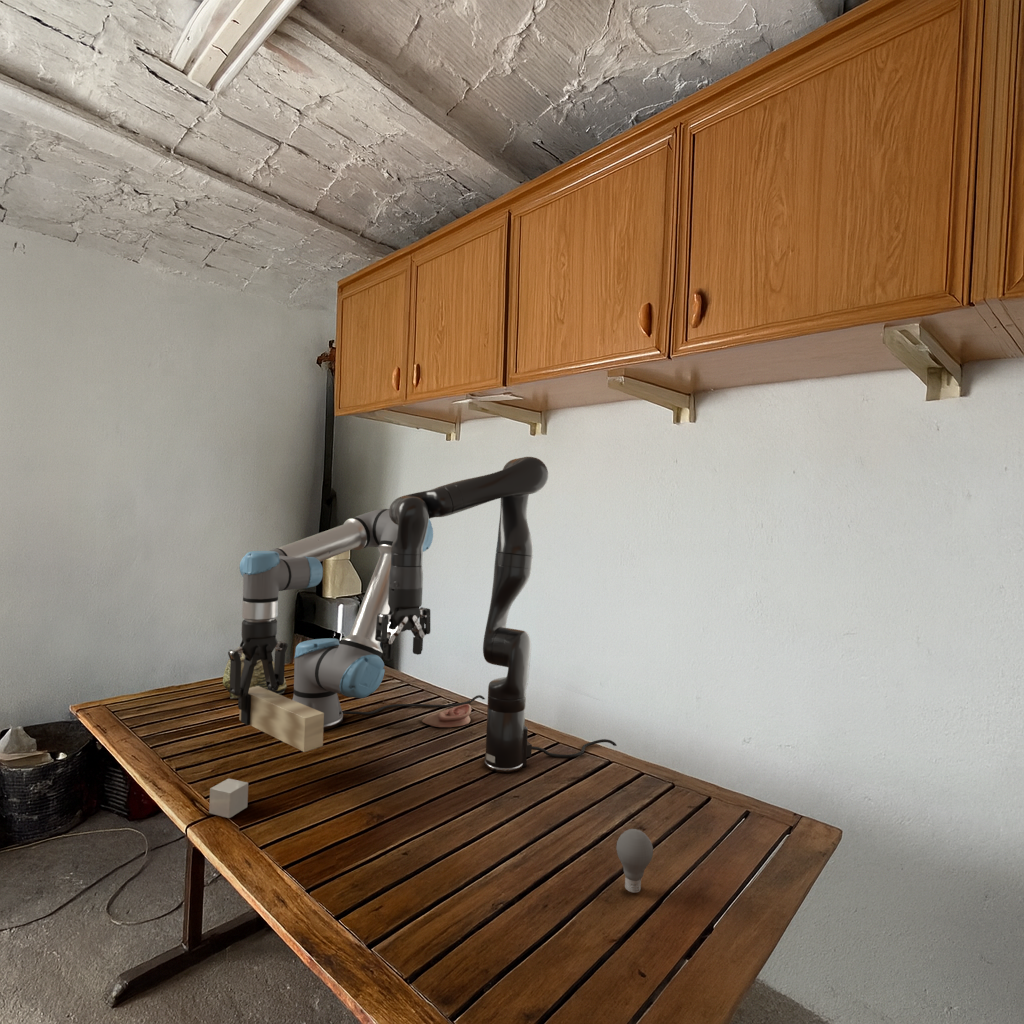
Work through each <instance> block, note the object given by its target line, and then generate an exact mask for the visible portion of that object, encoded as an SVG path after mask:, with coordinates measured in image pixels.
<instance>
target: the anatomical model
mask: <svg viewBox="0 0 1024 1024" xmlns="http://www.w3.org/2000/svg"><path fill="white" fill-rule="evenodd" d="M471 713H472V706H471V705H470V703H469V704H464V705H460V706H453V707H449V708H448V709H445V710H442V711H439V712H435V713H432V714H429V715H428V716H425V717H424V718H423V719H421V722H422V723H424V724H426V725H429V726H431V727H436V728H455V727H461V726H465V725H468V724H469V723H470V722H471V716H470V715H471Z"/></svg>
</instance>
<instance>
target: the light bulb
mask: <svg viewBox="0 0 1024 1024" xmlns="http://www.w3.org/2000/svg"><path fill="white" fill-rule="evenodd" d="M615 849H616V854H617V857H618V859H619V861H620V863H621V865H622V867H623V873H624V874H623V875H624V876H625V878H624V888H625V890H627V891H628V892H630V893H634V894H635V893H639V892H640V891H641V889H642V887H641V886H642V879H643V877H644V875H645V871H646V868H647V867H648V866H649V864H650V863H651V861H652V859H653V855H654V847H653V843H652V841H651V838H649V836H648V835H647V834H646V833H645V832H643V831H642V830H641V829H636V828H629V829H627V830H625V831H623V832H622V833H621V834H620V835H619V837H618V839H617V841H616V847H615Z"/></svg>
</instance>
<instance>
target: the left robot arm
mask: <svg viewBox="0 0 1024 1024" xmlns="http://www.w3.org/2000/svg"><path fill="white" fill-rule="evenodd" d="M430 519H431V518H430ZM430 519H429V522H428V527H427V532H426V537H425V540H424V544H423V553H424V552H426V551H427V550H429V548H430V547H431V545H432V543H433V541H434V540H433V539H434V528H433V524H432V521H431V520H430ZM397 533H398V525H396V524H395V523H394V522H393V521H392V520H391V519H390V516H389V508H379V509H375V510H371V511H368V512H364V513H361V514H359V515H357V516H353V517H350V518H348V519H346V520H345V521H344V523H343V524H341V525H337V526H335V527H333V528H330V529H328V530H325V531H321V532H318V533H316V534H313V535H310V536H307V537H304V538H302V539H299V540H296V541H293V542H290V543H288V544H284V545H282V546H279V547H276V548H273V549H269V550H251V551H248V552H246V554H245V555H244V556H242V558H241V560H240V562H239V572H240V575H241V577H242V608H241V609H242V611H241V618H242V619H243V620H242V621H241V642H240V644H239V646H238V647H237V648H235V649H229V650H228V652H227V655H228V658H229V659H230V692H231V693H233V694H235V695H238V698H237V708H238V710H239V711H240V710H241V721H240V723H241V724H243V725H246V726H250V716H251V695H248V692H249V687H250V683H251V679H252V675H253V671H254V667H255V666H256V664H257V661H258V660H261V661H262V665H263V670H264V675H265V680H266V686H267V687H268V689H267V688H265V689H267V690H270V691H272V692H274V693H275V691H276V690H278V688H279V687H278V686H280V685H283V684H284V677H285V665H286V653H287V649H288V646H289V644H288V643H287V642H283V641H278V639H277V636H276V635H277V634H278V620H277V619H276V618H277V617H279V616H278V615H279V592H283V591H290V590H291V591H292V590H300V589H305V590H306V589H309V588H313V587H316V586H318V585H319V584H320V583H321V582H322V579H323V574H324V572H323V571H324V568H323V565H322V563H321V562H324V561H326V560H328V559H331V558H333V557H336V556H338V555H341V554H344V553H346V552H349V551H351V550H355V551H361V550H363V549H366V548H377V549H378V552H379V558H378V560H377V562H376V565H375V568H374V570H373V573H372V576H371V577H370V581H369V583H368V585H367V588H366V591H365V593H364V596H363V599H362V601H361V604H360V606H359V608H358V612H357V614H356V617H355V620H354V622H353V625H352V627H351V630H350V631H349V634H348V635H346V636H344V637H342V638H341V640H340V641H339V639H338V638H335V637H334V638H331V637H329V638H315V639H308V640H304V641H301V642H299V643H298V644H297V645H296V646H295V652H294V656H293V659H294V661H293V662H294V663H293V664H294V668H293V695H292V696H293V697H292V699H291V700H294V701H296V702H299V703H301V704H303V705H306V706H308V707H311V708H313V709H315V710H318V711H320V712H323V713H324V726H323V732H325V731H329V730H332V729H335V728H337V727H339V726H340V725H342V723H343V722H344V715H362V716H366V715H367V716H369V715H374V714H376V713H379V712H381V711H383V710H385V709H389V708H390V709H391V708H398V707H401V708H403V707H404V708H405V707H406V708H407V707H408V708H411V707H412V708H417V707H419V708H420V707H422V708H453V707H456V706H460V705H464V704H469V705H470V703H472V702H474V701H475V700H477V699H481V700H486V698H485V697H484V696H483V695H480V694H478V695H476V696H474V697H472V698H471V699H469V700H467V701H462V702H457V703H456V702H455V703H449V704H446V703H445V704H429V703H428V704H427V703H396V704H394V703H393V704H388V705H384V706H381V707H379V708H376V709H375V710H371V711H355V710H350V711H349V710H347V711H346V710H343V709H342V706H341V702H340V699H339V695H342V696H344V697H347V698H355V699H365V698H367V697H370V695H372V694H373V693H375V692H376V691H377V690H378V688H380V686H381V683H382V682H383V680H384V676H385V671H386V669H385V668H384V667H385V663H384V661H383V659H382V657H383V648H382V647H381V642H379V641H376V640H375V634H376V623H377V615H378V614H379V613H380V614H388V613H389V611H390V607H389V605H388V591H389V573H390V567H391V549H392V543H393V542H394V540H396V539H397ZM381 634H382V631H381ZM273 651H274V658H273ZM242 652H243V653H244V655H245V658H244V667H243V671H242V675H241V659H240V658H241V657H242ZM272 661H274V669H273V663H272ZM230 692H229V693H230ZM338 694H339V695H338ZM470 700H471V701H470Z"/></svg>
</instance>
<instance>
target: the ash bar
mask: <svg viewBox="0 0 1024 1024" xmlns="http://www.w3.org/2000/svg"><path fill="white" fill-rule="evenodd" d="M248 695H251V716H250V725H249V726H250V727H252V728H254V729H256V730H259V731H261V732H262V733H264V734H267V735H269V736H270V737H273V738H275V739H276V740H278V741H281V742H283V743H285V744H287V745H289V746H291V747H293V748H295V749H296V750H299V751H301V752H302V753H306V752H308V751H311V750H315V749H317V748H320V747H323V746H324V731H323V726H324V713H323V712H320V711H318V710H315V709H313V708H311V707H308V706H306V705H303V704H301V703H299V702H296V701H294V700H292V699H291V698H288V697H287V696H284V695H282V694H277V693H274V692H272V691H270V690H267V689H265V688H262V687H260V686H256V687H251V688H249V692H248ZM238 720H239V721H240V722H241V710H240V709H239V718H238Z"/></svg>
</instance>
